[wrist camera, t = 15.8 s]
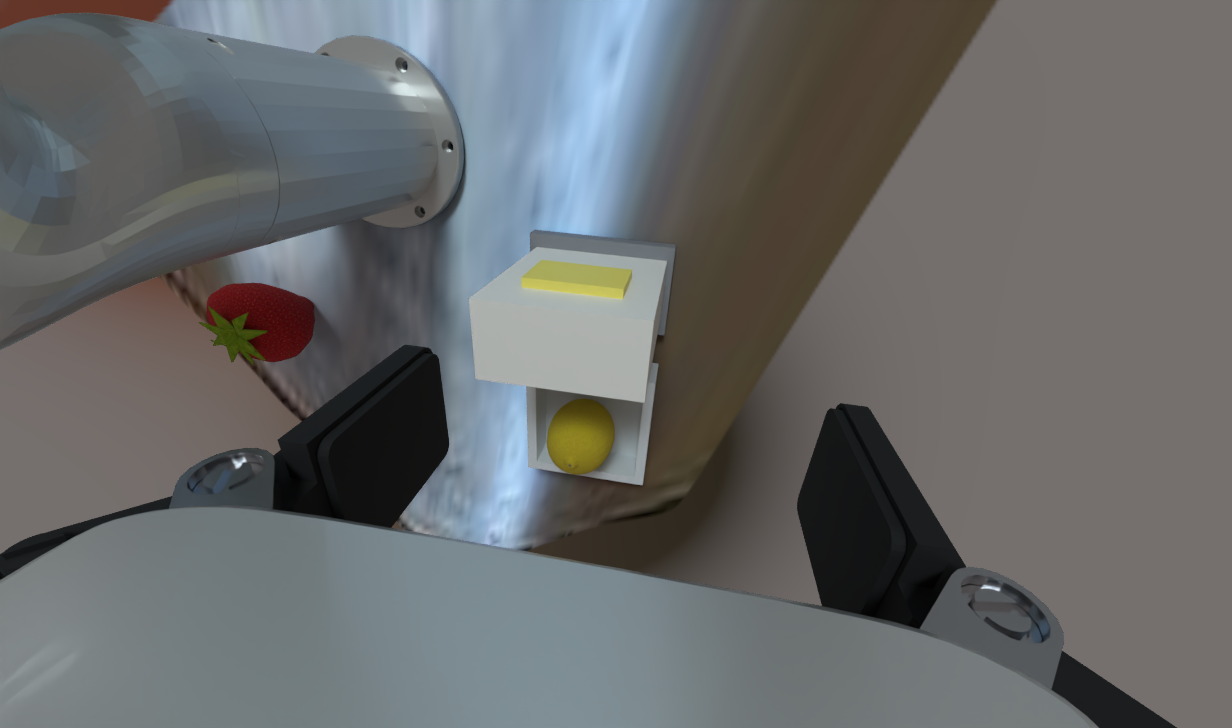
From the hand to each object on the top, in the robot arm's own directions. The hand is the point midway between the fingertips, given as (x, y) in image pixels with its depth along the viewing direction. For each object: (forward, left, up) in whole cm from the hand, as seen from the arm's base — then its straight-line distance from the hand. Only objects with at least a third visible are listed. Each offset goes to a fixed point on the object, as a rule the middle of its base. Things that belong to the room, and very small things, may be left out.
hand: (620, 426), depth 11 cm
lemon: (-5, -17, -26) cm, 31 cm away
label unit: (-5, -5, -26) cm, 27 cm away
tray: (-5, -17, -26) cm, 32 cm away
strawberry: (-32, -10, -26) cm, 43 cm away
